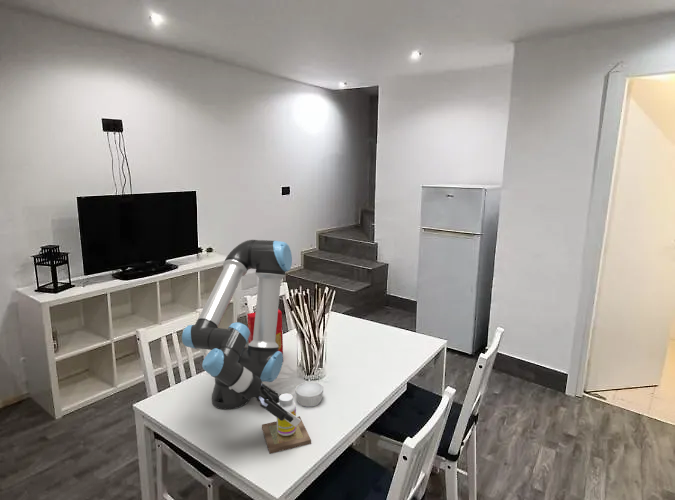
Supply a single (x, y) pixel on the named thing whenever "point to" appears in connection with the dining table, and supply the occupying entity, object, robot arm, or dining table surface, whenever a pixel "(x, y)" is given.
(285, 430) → the supplement bottle
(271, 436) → the walnut plinth
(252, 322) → the food packaging
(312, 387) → the ramekin
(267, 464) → the dining table surface
